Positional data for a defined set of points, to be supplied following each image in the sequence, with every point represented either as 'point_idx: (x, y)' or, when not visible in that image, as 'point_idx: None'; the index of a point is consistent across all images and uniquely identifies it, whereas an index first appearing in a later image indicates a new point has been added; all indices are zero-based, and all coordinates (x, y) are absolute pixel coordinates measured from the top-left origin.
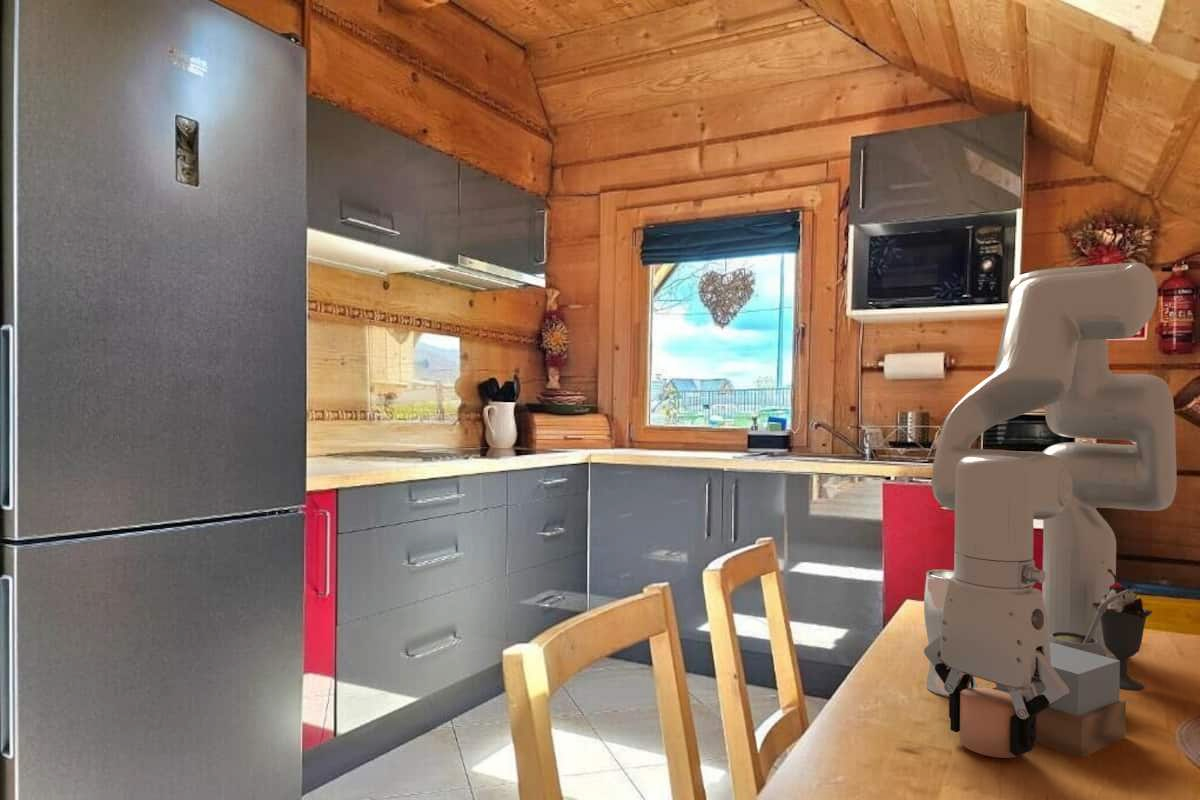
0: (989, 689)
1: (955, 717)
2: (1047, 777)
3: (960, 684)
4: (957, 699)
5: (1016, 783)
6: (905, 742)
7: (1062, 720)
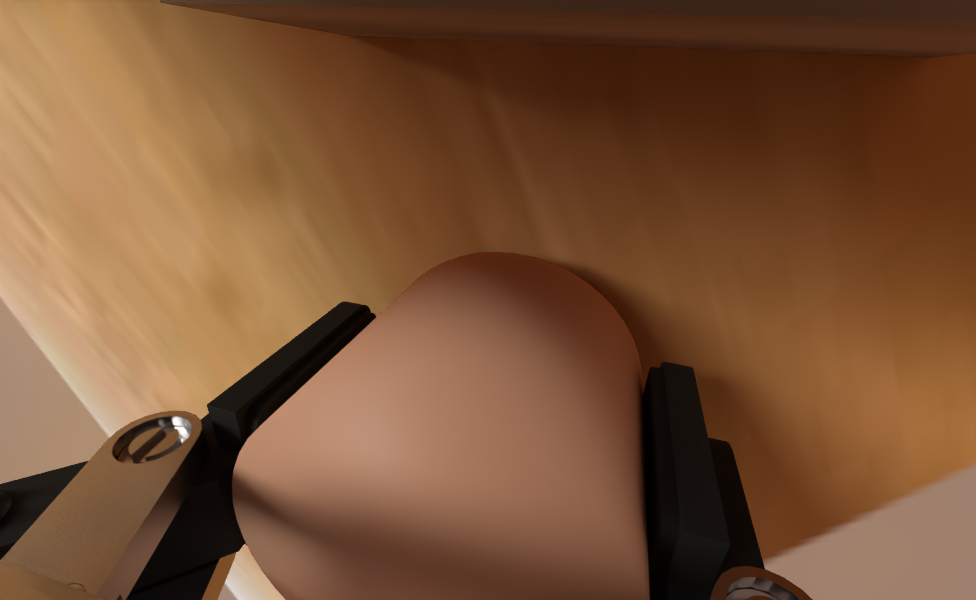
0: (301, 422)
1: None
2: (786, 440)
3: (191, 536)
4: None
5: None
6: None
7: (887, 30)
